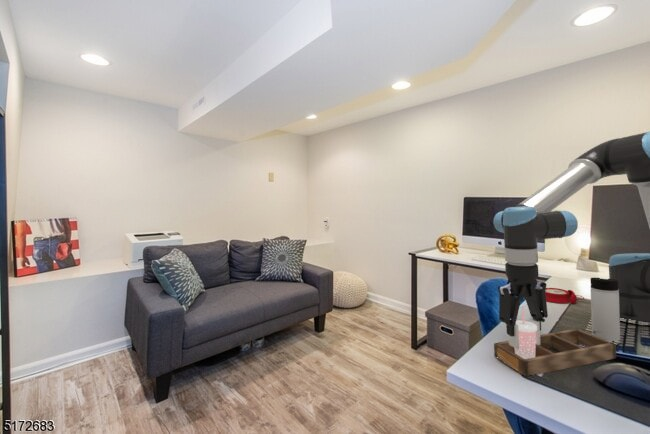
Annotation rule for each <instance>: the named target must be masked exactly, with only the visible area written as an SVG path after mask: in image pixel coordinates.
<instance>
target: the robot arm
mask: <svg viewBox="0 0 650 434" xmlns="http://www.w3.org/2000/svg"><path fill="white" fill-rule="evenodd" d="M620 175H622V176H623V175H626V176H627V181H628V183H629V184H631V185H635V186H636V187H637V189H638V192H639V197H640V200H641V204H642V207H643V212H644V214H645V218H646V221H647V224H648V228H649V229H650V131H646V132H641V133H637V134H633V135H629V136H624V137H620V138H619V137H618V138H614V139H610V140H607V141H604V142H601V143H599V144H597V145H596V146H594V147H592V148H591V149H588V150H587V151H585V152H584V153H582V154H581V155H579V156H578V157H576V158H575V159H573V160H572V161H571V162H570V163H569V164H568V168H567V169H565V170H564V171H562V172H561V173H560V174H558V175H557V176H555V177H554V178H553V179H551V180H550V181H549V182H547V183H546V184H545V185H543V186H542V187H541V188H539V189H538V190H536V191H535V192H534V193H532V194H531V195H530V196H528V197H527V198H525V199H524V200H523V201H521V202H520V203H519V204H517V205H516V206H515V207H514V206H512V207H510V206H509V207H506V208H505V209H504V210H501V211H499V212H497V213H496V214H495V215H494V217H493V222H492V223H493V226H494V229H496V231H498V232H500V233H503V238H504V239H503V243H504V260H505V262H506V263H505V264H504V266H505V267H504V268H505V276H506V277H507V282H506V284H505V285H503V286H502V285H499V286H498V287H497V290H498V294H499V296H498V297H499V301H498V302H499V304H498V305H499V307H498V308H499V309H498V312H499V313H498V320H499V321H500V322H502V323H504V324H506V334H507V335H508V341H509V345H510V346H512V347H514V348H516V349H519V329H518V325H516V320H518V314H519V310H520V307H521V306H520V305H521V302H523V301H524V299H525V303H526V305H527V308H528V311H529V315H530V318H528V322H531V323H534V324H535V325H536V326H537V331H536V344H537V345H541V344H540V335H541V331H542V323H544V322H545V321H546V319H547V318H548V316H549V313H548V312H549V311H548V307H547V306H548V305H547V303H548V302H547V301H546V293H545V290H546V288H547V282H544V281H539V280H537V279H538V278H539V265H538V264H537V263H539V255H538V254H539V253H538V241H539V240H549V239H562V238H566V237H570V236H572V235H574V234H575V233H576V232H577V229H578V228H579V227H578V219H577V217H576V215H574V214H573V213H572V212H570V211H567V210H555V209H556V208H557V207H559V206H560V205H561V204H563V203H564V202H566V201H567V200H568V199H569V198H571V197H573V195H575V194H576V193H577V192H579V191H580V190H582V189H583V188H584V187H585V186H587V185H590V184H595V183H596V182H598V181H599V180H601V179H604V178H606V177H612V176H620ZM608 263H609V264H608V275H609V276H608V279H615V280H618V285H619V286H618V287H619V291H618V292H619V313H620V318H624V319H631V320H637V321H643V322H650V253H649V252H648V253H645V252H642V253H640V252H639V253H638V252H637V253H635V252H634V253H629V252H628V253H617V254H613V255H611V256H610V257H609V259H608Z"/></svg>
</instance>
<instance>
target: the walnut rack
mask: <svg viewBox="0 0 650 434" xmlns="http://www.w3.org/2000/svg"><path fill="white" fill-rule="evenodd" d="M540 344H541V345H537V344H536V349H535V357H533V358H528V359H524V358H522V357H520V356H518V355H517V354H515V348H514V347H512V346H510V345H509V340H506V341H505V340H504V341H499V342H494V343H493V351H494V352H493V353H494V357H495V356H496V357H498V358H497V359H498V360H499V359H500V360H499V361H501V360H502V361H503V362H502V361H501V362H502V363H504V362H505V363H506V364H505V363H504V364H505V365H507V364H508V365H509V366H508V365H507V366H508V367H510V366H511V367H512V368H511V367H510V368H511V369H513V368H514V369H515V370H514V369H513V370H514V371H516V372H517V371H518V372H517V373H519V374H520V373H521V374H520V375H522V374H523V375H524V376H523V375H522V376H523V377H525V376H527V377H530V376H529V375H532V376H536V375H535V374H537V375H541V374H546V373H550V372H556V371H560V370H566V369H570V368H576V367H580V366H584V365H590V364H594V363H595V364H596V363H599V362H604V361H609V360H615V359H617V346H616V344H614V343H612V342H609V341H607V340H604V339H602V338H599V337H597V336H594V335H592V333H588V332H586V331H584V330H581V329H579V328H573V329H566V330H562V331H556V332H550V333H545V334H540ZM581 344H583V345H585V346H588V347H585V346H583V345H582V346H581ZM550 349H553V350H555V351H557V352H553V351H551V350H550ZM496 357H495V358H496Z"/></svg>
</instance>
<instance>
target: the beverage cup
mask: <svg viewBox="0 0 650 434" xmlns="http://www.w3.org/2000/svg"><path fill="white" fill-rule="evenodd" d="M521 318H522V319H521V320H520V319H517V320H516V325H518V329H519V349H516V348H515V354H517V355H518V356H520V357H522V358H524V359H528V358H533V357H535V349H536V331H537V326H536V325H535V324H534V323H531V322H529V320H528V321H526V320H525V307H524V306H521Z"/></svg>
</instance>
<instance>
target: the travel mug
mask: <svg viewBox="0 0 650 434" xmlns="http://www.w3.org/2000/svg"><path fill="white" fill-rule="evenodd" d="M618 286H619V285H618V280H615V279H609V278H601V277H590V313H591V318H590V319H591V335H594V336H597V337H599V338H602V339H604V340H607V341H618V340H619V339H620V340H621V322H620V313H619V292H618V291H619V287H618Z"/></svg>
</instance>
